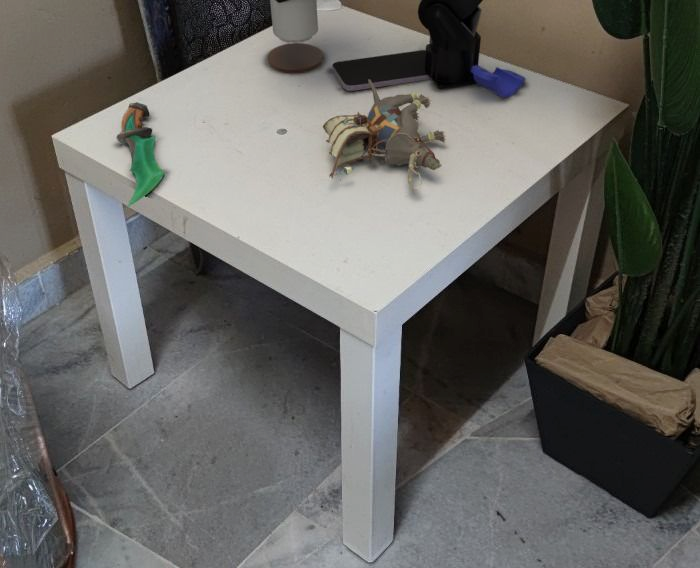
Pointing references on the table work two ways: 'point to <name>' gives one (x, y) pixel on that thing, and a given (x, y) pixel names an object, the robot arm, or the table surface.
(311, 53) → the coaster
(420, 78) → the smartphone
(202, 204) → the table surface
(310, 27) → the beverage can
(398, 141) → the figurine
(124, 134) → the knife
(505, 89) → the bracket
